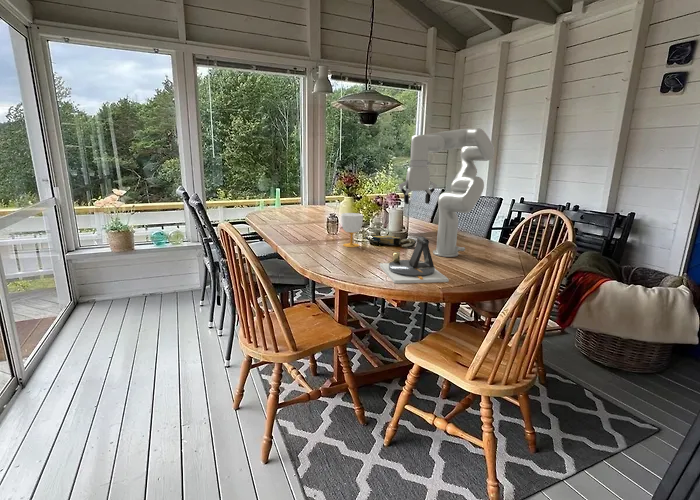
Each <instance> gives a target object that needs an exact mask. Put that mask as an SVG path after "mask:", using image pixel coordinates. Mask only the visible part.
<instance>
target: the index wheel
mask: <svg viewBox="0 0 700 500" xmlns="http://www.w3.org/2000/svg"><path fill="white" fill-rule="evenodd" d="M392 258H393V260H392V261H391V262H389V270H390V271H392V272H394V273H397V274H401V275H406V276H427V275H431V274H433V273H434V271H435V269H436V267H435V266H434V267H416V268H414V267H413V266H411V265H410V264H409V261H410V259H401V252H399V251H395V252H393V257H392ZM424 262H425V261H424V260H423V261H422V260H419V263H424Z"/></svg>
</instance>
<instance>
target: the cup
mask: <svg viewBox="0 0 700 500" xmlns="http://www.w3.org/2000/svg"><path fill="white" fill-rule="evenodd" d="M340 216H341V218H340V219H341V220H340V221H341V227H342V229H343V231H344V232H346V233H348V234H349V235H350V242H349V243H343V245H342V246H343V247H345V248H346V247H347V248H359V247H360V244H358V243H353V235H354V234H357V233H359V232H360V231H361V228H362V226H363V220H364V214H362V213H358V212H357V213H356V212H343V213H341V215H340Z"/></svg>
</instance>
